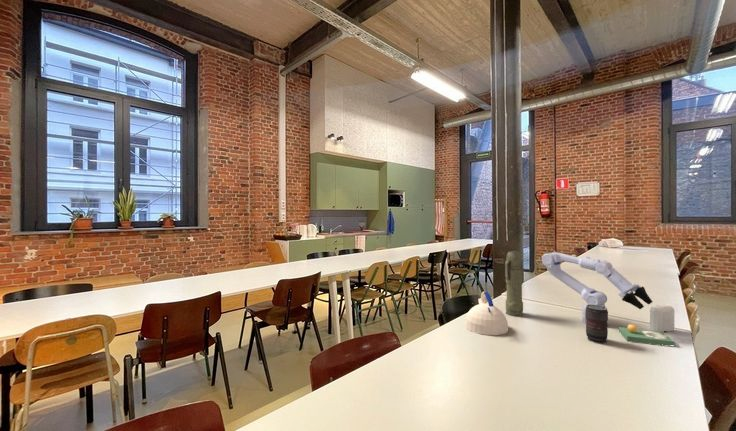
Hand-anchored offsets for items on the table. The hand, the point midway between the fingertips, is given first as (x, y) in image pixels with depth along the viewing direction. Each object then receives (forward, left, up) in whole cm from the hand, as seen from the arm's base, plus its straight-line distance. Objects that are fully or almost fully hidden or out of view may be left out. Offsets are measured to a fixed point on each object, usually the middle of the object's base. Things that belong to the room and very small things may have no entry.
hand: (646, 305), depth 147 cm
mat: (-2, -4, -14) cm, 15 cm away
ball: (-6, -4, -10) cm, 13 cm away
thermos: (-55, +13, -14) cm, 58 cm away
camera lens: (-22, -14, -14) cm, 30 cm away
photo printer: (+9, +11, -14) cm, 20 cm away
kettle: (-68, -15, -14) cm, 71 cm away
